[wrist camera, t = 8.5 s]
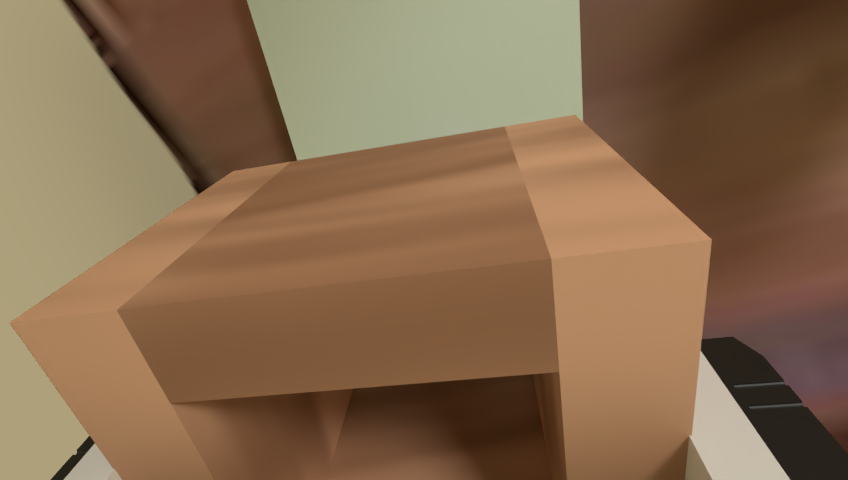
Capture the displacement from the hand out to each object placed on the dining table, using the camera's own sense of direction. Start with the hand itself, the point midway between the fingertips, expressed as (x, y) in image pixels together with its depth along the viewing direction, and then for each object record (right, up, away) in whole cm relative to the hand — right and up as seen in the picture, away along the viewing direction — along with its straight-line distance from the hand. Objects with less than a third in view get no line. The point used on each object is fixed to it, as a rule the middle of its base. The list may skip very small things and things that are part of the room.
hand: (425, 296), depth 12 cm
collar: (0, 0, 0) cm, 0 cm away
